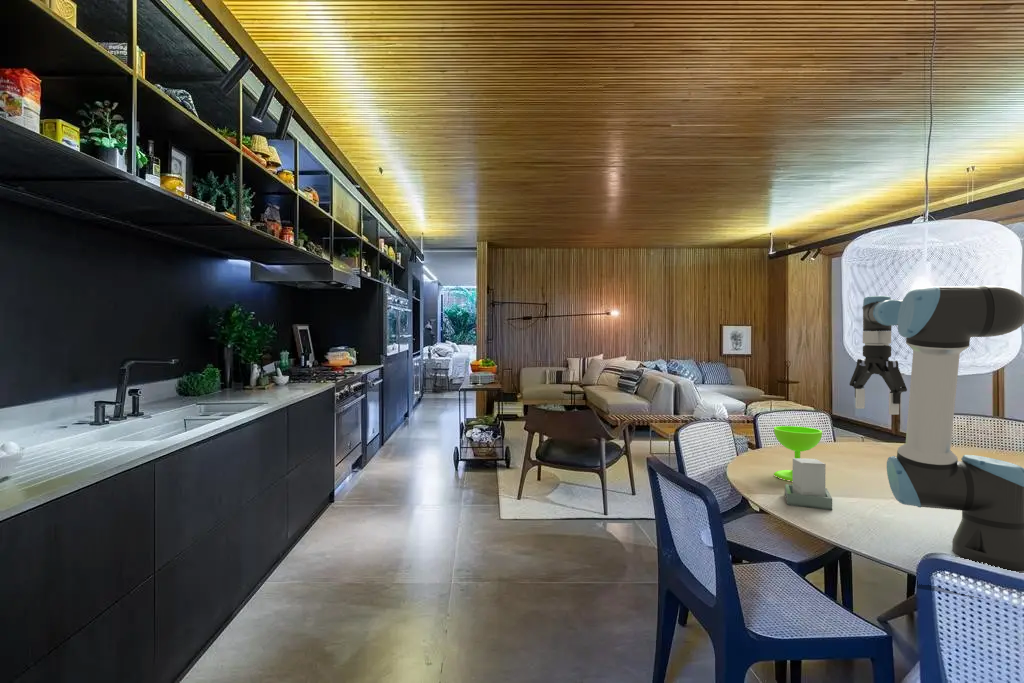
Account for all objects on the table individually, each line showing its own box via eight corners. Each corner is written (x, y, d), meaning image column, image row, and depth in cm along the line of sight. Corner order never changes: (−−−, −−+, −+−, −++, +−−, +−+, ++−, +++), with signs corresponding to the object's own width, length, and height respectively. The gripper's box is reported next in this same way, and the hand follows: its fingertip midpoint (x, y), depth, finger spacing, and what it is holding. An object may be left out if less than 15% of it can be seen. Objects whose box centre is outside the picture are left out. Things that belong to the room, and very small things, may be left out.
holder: (832, 510, 160) (832, 498, 160) (787, 505, 164) (787, 493, 164) (826, 499, 171) (826, 488, 171) (784, 494, 175) (785, 484, 175)
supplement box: (826, 504, 163) (826, 463, 163) (800, 503, 164) (800, 462, 164) (816, 497, 170) (816, 458, 170) (791, 496, 171) (791, 457, 171)
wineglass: (829, 478, 196) (829, 430, 196) (811, 486, 186) (811, 435, 185) (784, 470, 208) (784, 424, 208) (765, 476, 198) (766, 428, 198)
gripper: (922, 345, 156) (921, 416, 156) (858, 344, 181) (857, 406, 181) (898, 345, 155) (898, 417, 156) (837, 344, 180) (837, 406, 180)
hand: (876, 411), depth 168 cm, fingers open, 13 cm apart
